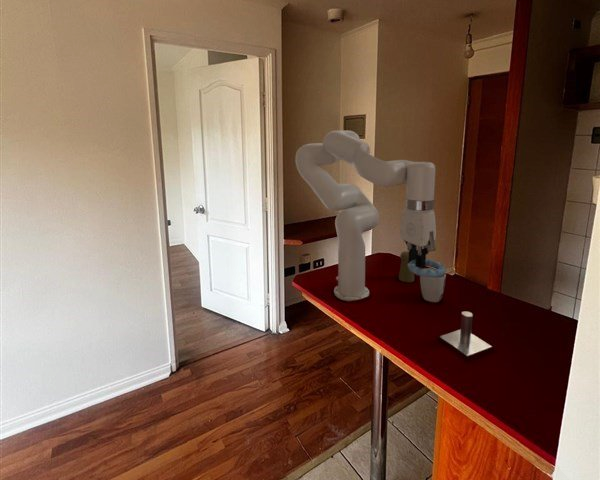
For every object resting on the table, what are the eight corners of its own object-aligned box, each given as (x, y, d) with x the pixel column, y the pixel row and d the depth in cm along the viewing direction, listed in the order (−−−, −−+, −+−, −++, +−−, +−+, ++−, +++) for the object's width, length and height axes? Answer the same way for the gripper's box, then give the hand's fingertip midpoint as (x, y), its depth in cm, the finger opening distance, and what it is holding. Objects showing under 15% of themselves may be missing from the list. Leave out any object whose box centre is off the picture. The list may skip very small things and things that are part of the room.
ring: (400, 267, 96) (400, 261, 96) (426, 262, 100) (427, 255, 99) (425, 281, 87) (426, 274, 86) (453, 274, 91) (453, 267, 90)
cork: (395, 277, 130) (396, 250, 128) (408, 274, 132) (409, 249, 130) (404, 283, 125) (405, 256, 123) (417, 280, 126) (419, 254, 124)
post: (439, 340, 90) (441, 309, 88) (462, 332, 93) (464, 302, 92) (467, 360, 82) (469, 327, 80) (491, 350, 85) (494, 318, 84)
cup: (446, 307, 107) (448, 279, 105) (420, 305, 108) (422, 277, 107) (441, 295, 114) (442, 269, 113) (417, 294, 116) (418, 267, 114)
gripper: (390, 201, 99) (389, 258, 103) (430, 212, 85) (427, 278, 88) (410, 198, 102) (408, 254, 105) (451, 209, 88) (447, 273, 91)
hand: (416, 264), depth 97 cm, fingers closed on ring, 2 cm apart
